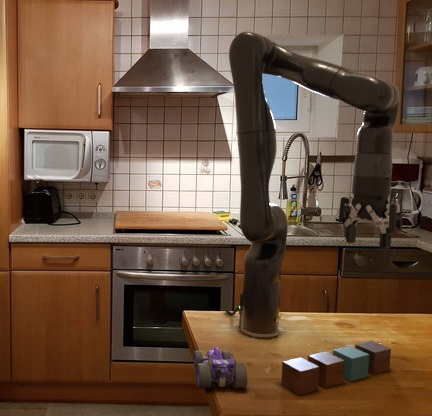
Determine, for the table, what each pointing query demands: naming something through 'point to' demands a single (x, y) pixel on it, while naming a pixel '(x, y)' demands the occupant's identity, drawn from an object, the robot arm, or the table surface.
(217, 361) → the toy race car
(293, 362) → the walnut block
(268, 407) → the table surface
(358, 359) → the teal block
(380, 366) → the walnut block
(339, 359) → the walnut block
